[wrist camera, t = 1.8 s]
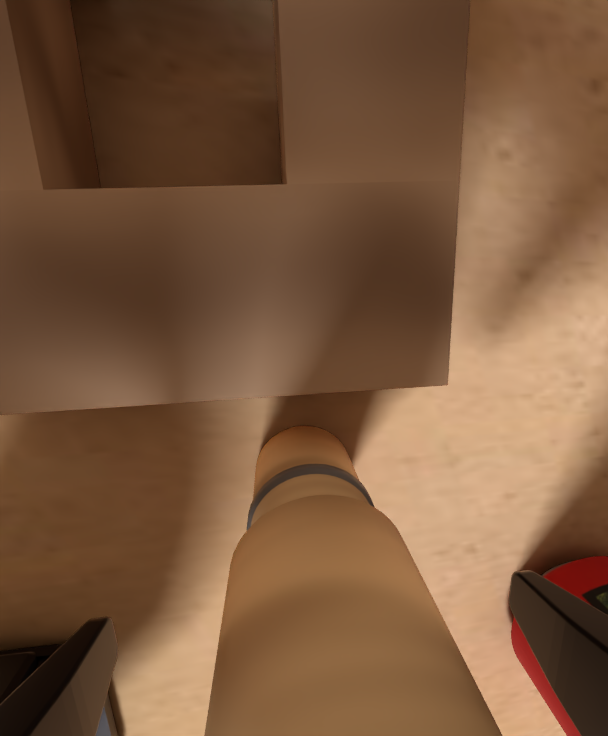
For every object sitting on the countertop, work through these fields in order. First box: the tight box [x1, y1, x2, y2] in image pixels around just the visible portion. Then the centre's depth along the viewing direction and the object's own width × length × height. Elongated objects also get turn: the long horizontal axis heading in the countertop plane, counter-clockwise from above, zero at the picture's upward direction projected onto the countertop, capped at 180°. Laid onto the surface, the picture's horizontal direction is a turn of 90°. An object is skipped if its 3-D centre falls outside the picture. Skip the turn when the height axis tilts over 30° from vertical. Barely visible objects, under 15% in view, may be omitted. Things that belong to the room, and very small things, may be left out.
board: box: [0, 0, 470, 415], centre depth 9 cm, size 16×14×3 cm
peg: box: [205, 426, 502, 736], centre depth 9 cm, size 4×4×10 cm
